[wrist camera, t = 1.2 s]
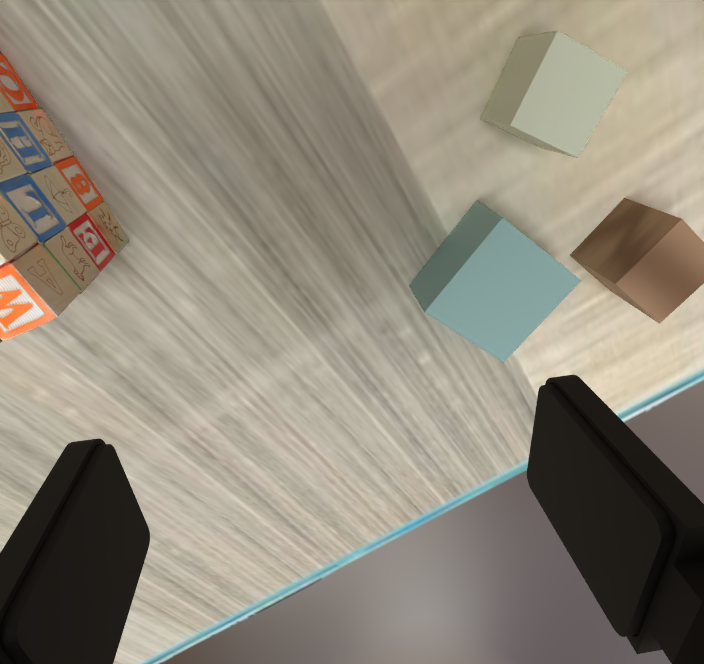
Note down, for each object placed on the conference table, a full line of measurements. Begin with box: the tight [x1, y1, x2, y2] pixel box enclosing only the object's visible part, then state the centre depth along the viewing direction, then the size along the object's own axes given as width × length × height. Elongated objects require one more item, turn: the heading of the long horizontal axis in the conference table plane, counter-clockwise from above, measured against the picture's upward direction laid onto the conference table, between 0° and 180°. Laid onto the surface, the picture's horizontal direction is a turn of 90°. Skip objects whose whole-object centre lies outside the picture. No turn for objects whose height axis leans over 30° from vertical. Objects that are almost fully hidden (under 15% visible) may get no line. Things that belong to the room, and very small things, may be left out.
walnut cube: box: [570, 198, 704, 324], centre depth 35 cm, size 6×6×6 cm
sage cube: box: [480, 31, 628, 158], centre depth 29 cm, size 5×5×5 cm
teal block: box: [409, 201, 581, 363], centre depth 35 cm, size 8×8×5 cm
